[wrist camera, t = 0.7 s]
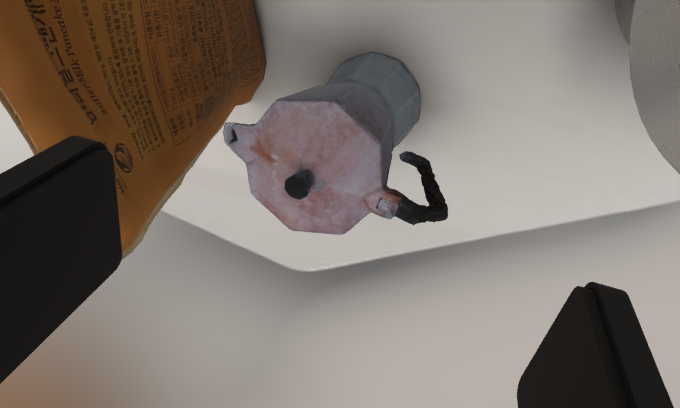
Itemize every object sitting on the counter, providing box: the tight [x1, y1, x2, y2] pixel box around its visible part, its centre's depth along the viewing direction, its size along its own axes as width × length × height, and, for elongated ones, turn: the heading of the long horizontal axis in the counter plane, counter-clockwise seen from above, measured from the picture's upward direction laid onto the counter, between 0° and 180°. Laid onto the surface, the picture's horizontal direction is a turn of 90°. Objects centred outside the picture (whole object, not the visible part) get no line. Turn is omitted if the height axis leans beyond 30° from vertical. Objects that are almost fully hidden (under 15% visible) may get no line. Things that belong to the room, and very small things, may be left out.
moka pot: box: [223, 52, 448, 235], centre depth 36 cm, size 10×15×20 cm, turn 76°
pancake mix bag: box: [0, 0, 266, 260], centre depth 32 cm, size 7×19×28 cm, turn 9°
